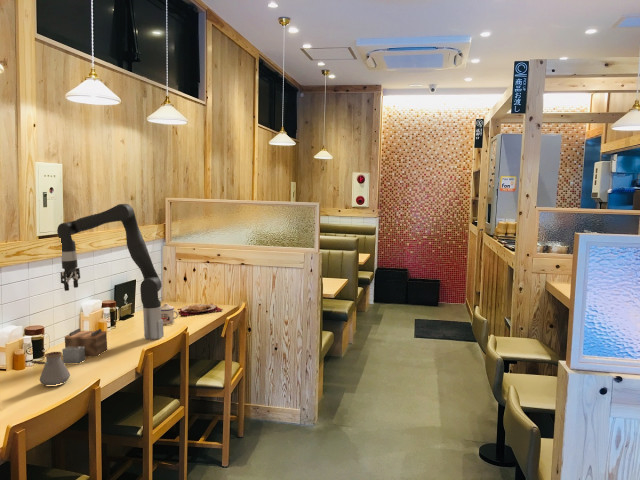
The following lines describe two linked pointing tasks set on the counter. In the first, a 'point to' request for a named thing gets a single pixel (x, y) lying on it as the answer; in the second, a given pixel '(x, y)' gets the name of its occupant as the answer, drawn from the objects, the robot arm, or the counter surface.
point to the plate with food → (199, 309)
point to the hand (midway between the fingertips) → (71, 289)
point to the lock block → (73, 354)
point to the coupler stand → (88, 341)
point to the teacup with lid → (168, 314)
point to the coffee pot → (53, 369)
